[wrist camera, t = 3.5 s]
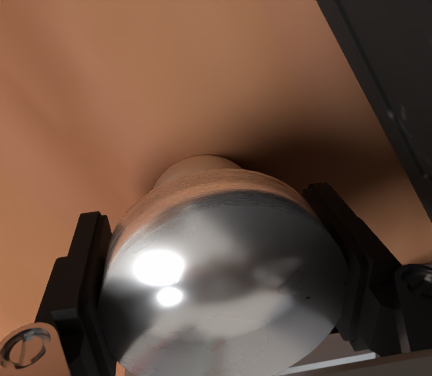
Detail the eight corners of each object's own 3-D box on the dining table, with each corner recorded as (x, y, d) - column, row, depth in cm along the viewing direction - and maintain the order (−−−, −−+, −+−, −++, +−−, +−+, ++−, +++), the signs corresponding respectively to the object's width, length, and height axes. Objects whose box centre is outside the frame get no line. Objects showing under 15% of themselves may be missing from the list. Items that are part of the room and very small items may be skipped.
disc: (80, 185, 9) (66, 228, 7) (332, 155, 10) (367, 188, 8) (127, 352, 12) (124, 407, 11) (312, 321, 13) (335, 368, 11)
